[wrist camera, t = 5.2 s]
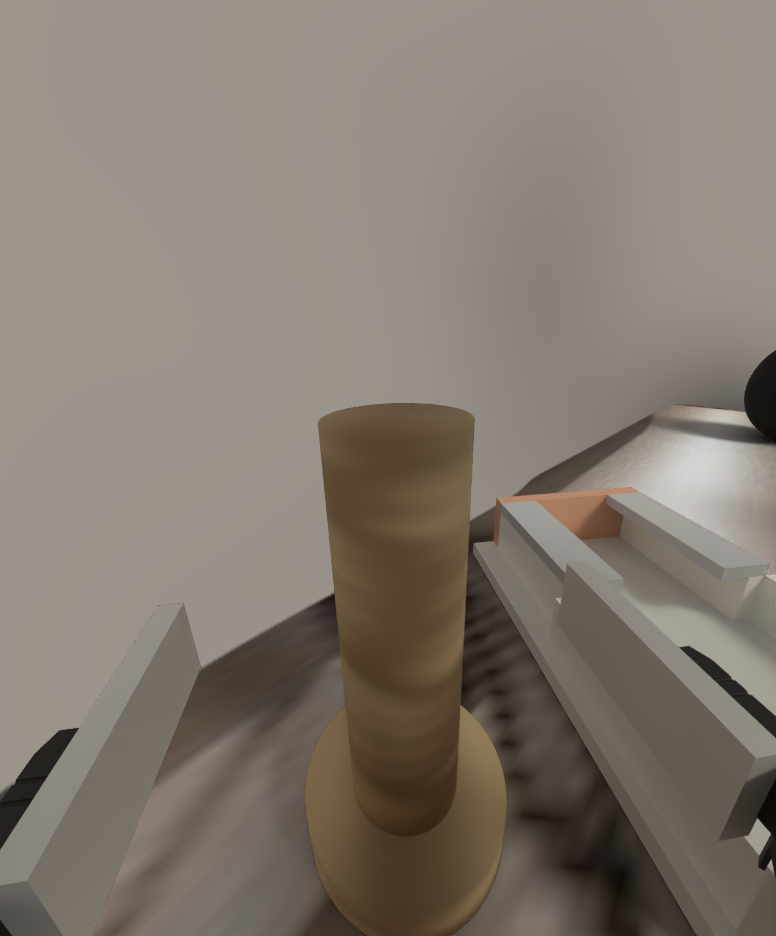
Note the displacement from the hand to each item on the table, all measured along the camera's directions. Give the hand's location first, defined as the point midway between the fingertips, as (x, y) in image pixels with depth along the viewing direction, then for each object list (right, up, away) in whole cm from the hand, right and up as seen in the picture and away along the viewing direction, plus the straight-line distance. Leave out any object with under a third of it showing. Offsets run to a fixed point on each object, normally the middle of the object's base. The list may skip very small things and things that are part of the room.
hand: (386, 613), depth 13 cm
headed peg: (+1, -9, +2) cm, 9 cm away
